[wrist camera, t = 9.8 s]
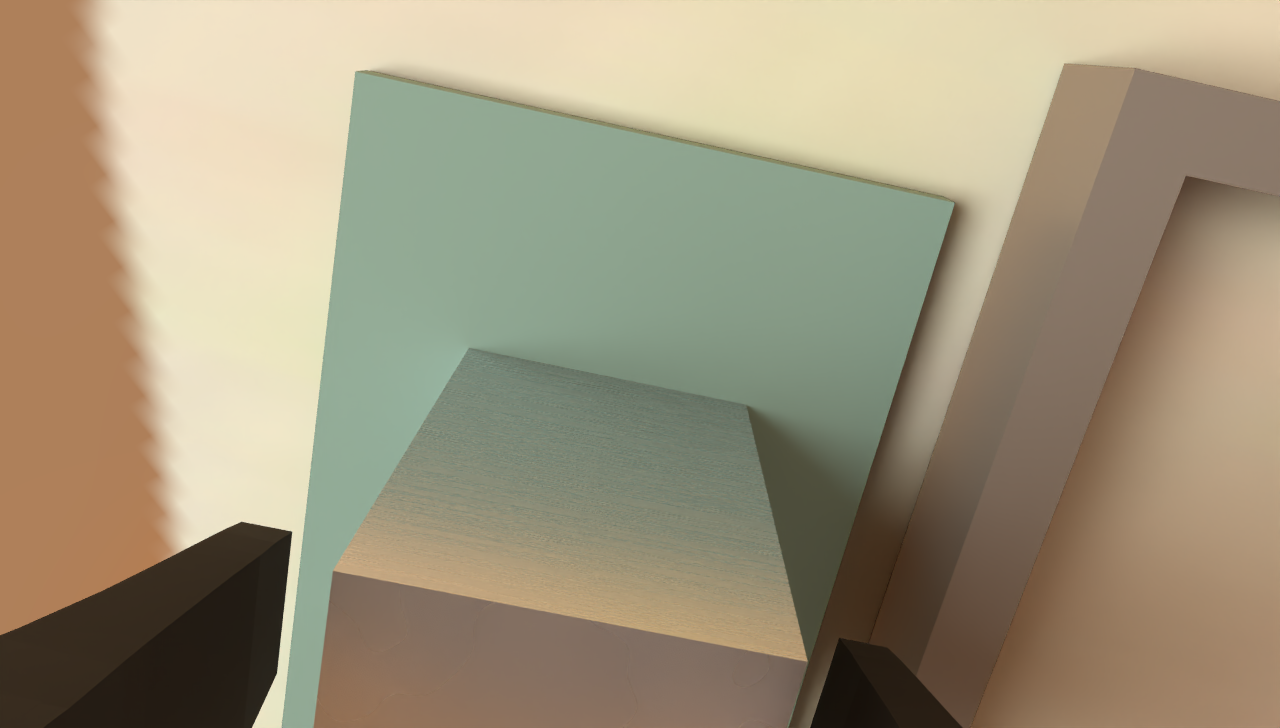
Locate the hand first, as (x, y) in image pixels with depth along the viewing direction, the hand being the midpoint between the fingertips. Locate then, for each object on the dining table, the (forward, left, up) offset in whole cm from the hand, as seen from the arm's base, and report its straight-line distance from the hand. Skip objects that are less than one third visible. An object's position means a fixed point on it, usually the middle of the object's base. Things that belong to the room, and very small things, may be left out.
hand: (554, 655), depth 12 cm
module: (0, 0, -3) cm, 3 cm away
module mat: (0, 0, -3) cm, 3 cm away
